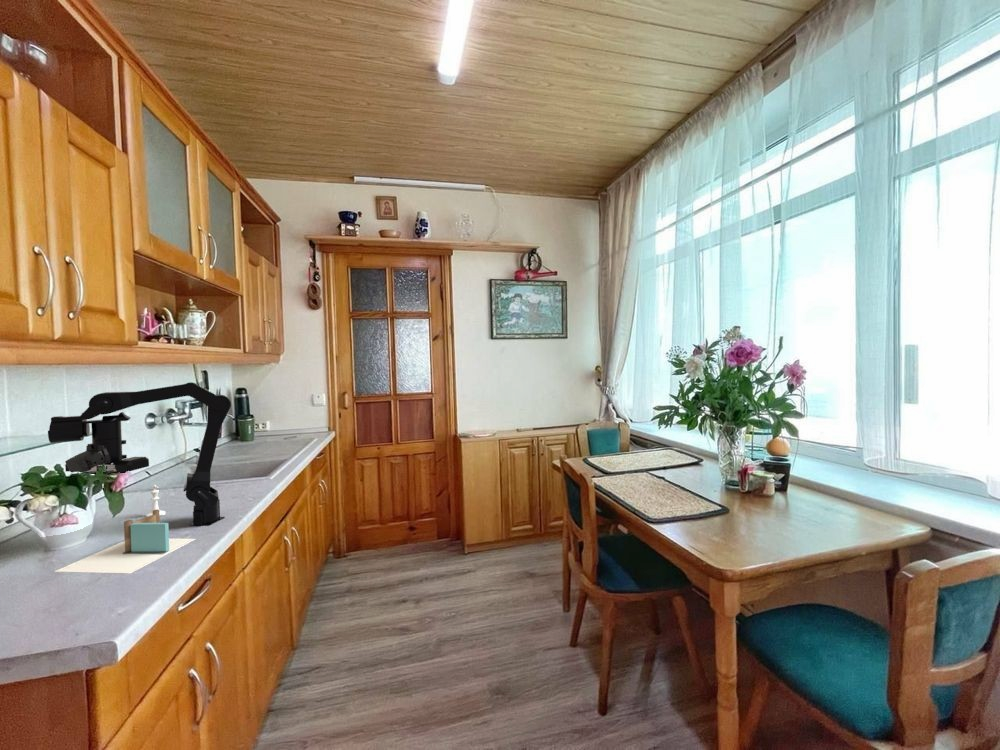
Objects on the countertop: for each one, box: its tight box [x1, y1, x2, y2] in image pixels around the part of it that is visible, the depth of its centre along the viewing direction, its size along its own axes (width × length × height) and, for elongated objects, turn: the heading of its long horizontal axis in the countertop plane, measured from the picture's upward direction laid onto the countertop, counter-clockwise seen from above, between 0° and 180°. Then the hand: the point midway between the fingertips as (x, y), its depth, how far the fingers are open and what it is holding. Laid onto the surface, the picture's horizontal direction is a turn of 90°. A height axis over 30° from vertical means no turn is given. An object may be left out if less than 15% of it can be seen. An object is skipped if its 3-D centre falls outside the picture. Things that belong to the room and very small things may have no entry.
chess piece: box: [145, 484, 166, 517], centre depth 127 cm, size 5×5×10 cm
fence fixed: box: [123, 508, 161, 553], centre depth 105 cm, size 9×2×8 cm, turn 176°
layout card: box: [54, 537, 196, 574], centre depth 100 cm, size 18×19×1 cm
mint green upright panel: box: [130, 522, 170, 552], centre depth 101 cm, size 9×1×7 cm, turn 89°
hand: (109, 495), depth 108 cm, fingers closed
